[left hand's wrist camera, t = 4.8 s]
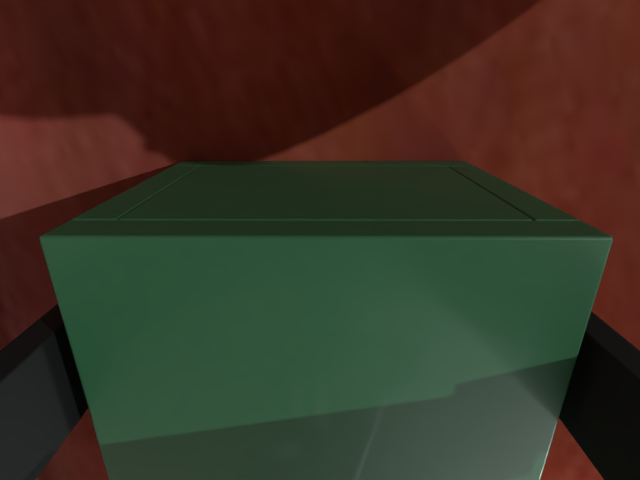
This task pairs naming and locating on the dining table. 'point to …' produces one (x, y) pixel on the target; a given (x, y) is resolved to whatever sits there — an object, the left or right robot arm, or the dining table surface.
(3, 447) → the left robot arm
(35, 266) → the dining table surface
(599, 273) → the green rectangular box
